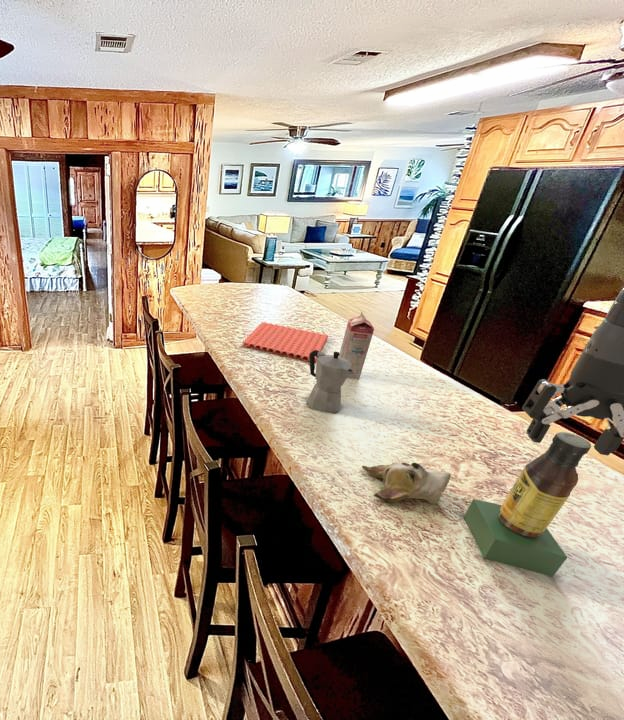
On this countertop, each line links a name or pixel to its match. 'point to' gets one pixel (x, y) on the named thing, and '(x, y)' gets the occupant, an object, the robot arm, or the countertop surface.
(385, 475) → the ceramic sculpture
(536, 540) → the green block
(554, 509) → the sauce bottle
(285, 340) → the red corrugated roof tile
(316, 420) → the countertop surface
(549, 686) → the countertop surface
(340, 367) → the coffeepot
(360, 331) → the juice carton
